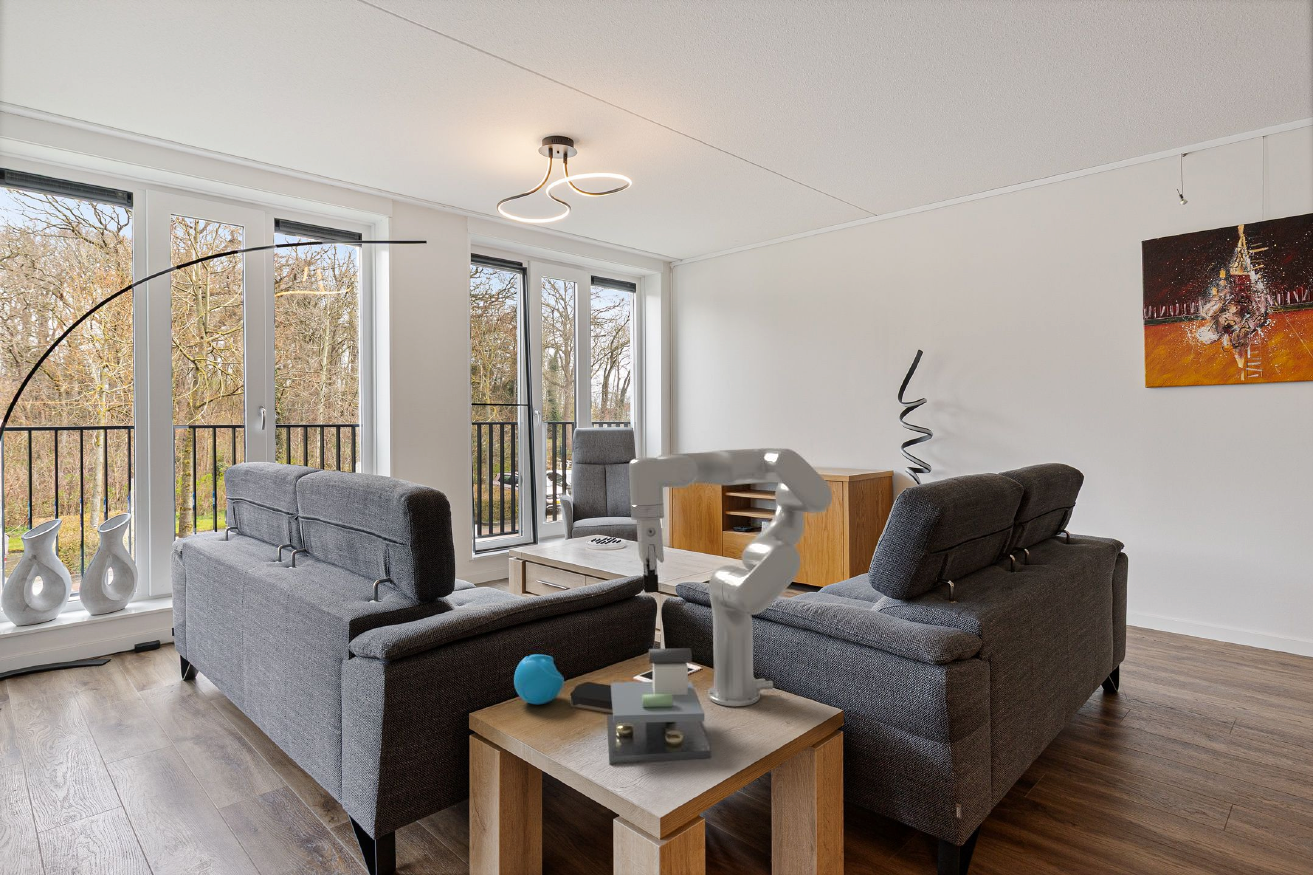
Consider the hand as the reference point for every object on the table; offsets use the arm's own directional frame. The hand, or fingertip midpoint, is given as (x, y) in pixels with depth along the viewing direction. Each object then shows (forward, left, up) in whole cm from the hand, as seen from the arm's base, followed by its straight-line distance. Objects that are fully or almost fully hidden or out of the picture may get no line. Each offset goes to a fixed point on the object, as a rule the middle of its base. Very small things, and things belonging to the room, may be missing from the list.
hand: (651, 591), depth 156 cm
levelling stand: (+1, +13, -28) cm, 31 cm away
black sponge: (+11, -7, -29) cm, 31 cm away
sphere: (+27, -10, -28) cm, 40 cm away
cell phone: (-6, -25, -29) cm, 39 cm away
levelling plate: (+1, +13, -22) cm, 25 cm away
